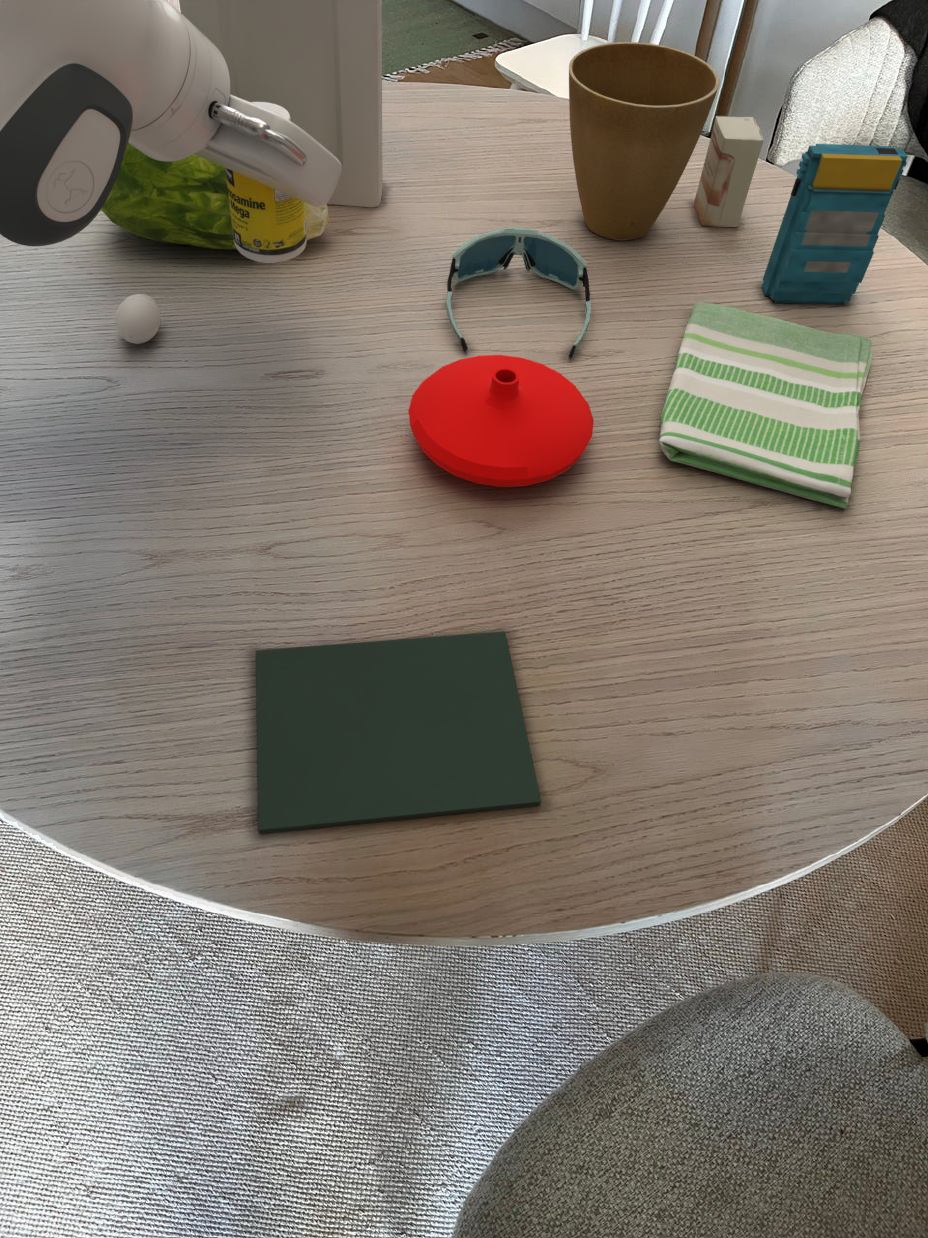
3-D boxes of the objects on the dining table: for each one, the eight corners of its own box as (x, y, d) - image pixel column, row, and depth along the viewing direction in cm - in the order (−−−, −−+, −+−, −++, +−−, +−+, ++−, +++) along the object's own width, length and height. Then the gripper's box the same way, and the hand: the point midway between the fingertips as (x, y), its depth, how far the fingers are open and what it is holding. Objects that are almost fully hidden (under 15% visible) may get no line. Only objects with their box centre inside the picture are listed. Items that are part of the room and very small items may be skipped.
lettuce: (307, 315, 102) (322, 211, 91) (79, 248, 99) (66, 132, 88) (334, 227, 110) (352, 120, 98) (122, 162, 106) (116, 44, 95)
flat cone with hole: (465, 363, 92) (470, 297, 87) (617, 426, 88) (633, 361, 82) (372, 458, 83) (371, 391, 78) (536, 533, 79) (547, 468, 73)
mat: (259, 834, 61) (258, 830, 61) (256, 654, 70) (255, 650, 70) (540, 805, 64) (541, 801, 63) (504, 635, 72) (505, 631, 72)
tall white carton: (390, 143, 118) (391, -144, 96) (379, 207, 108) (377, -94, 86) (230, 130, 117) (194, -161, 95) (205, 194, 108) (159, -113, 86)
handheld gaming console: (845, 285, 104) (903, 144, 92) (857, 308, 102) (918, 166, 90) (756, 283, 103) (803, 141, 92) (765, 306, 101) (815, 163, 89)
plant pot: (670, 191, 114) (704, 43, 102) (692, 262, 105) (733, 109, 93) (543, 185, 114) (562, 35, 101) (554, 256, 104) (577, 101, 92)
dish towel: (868, 356, 97) (879, 333, 94) (851, 516, 82) (863, 492, 80) (690, 314, 99) (697, 290, 97) (644, 461, 85) (650, 437, 83)
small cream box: (692, 203, 113) (714, 113, 105) (729, 204, 113) (754, 115, 105) (700, 227, 110) (724, 136, 102) (738, 228, 110) (765, 138, 102)
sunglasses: (583, 271, 103) (591, 230, 98) (588, 375, 95) (597, 336, 91) (448, 262, 102) (450, 220, 98) (442, 366, 95) (444, 326, 90)
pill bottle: (219, 243, 84) (201, 110, 76) (274, 219, 87) (264, 89, 79) (266, 274, 82) (253, 140, 73) (322, 248, 85) (316, 117, 76)
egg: (171, 319, 94) (163, 283, 91) (154, 357, 90) (146, 321, 87) (131, 315, 94) (122, 279, 91) (112, 354, 90) (103, 317, 87)
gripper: (299, 88, 64) (388, 179, 76) (76, 0, 70) (194, 98, 83) (259, 180, 64) (354, 255, 77) (43, 86, 71) (164, 170, 84)
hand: (269, 173), depth 80 cm, fingers closed on pill bottle, 6 cm apart
